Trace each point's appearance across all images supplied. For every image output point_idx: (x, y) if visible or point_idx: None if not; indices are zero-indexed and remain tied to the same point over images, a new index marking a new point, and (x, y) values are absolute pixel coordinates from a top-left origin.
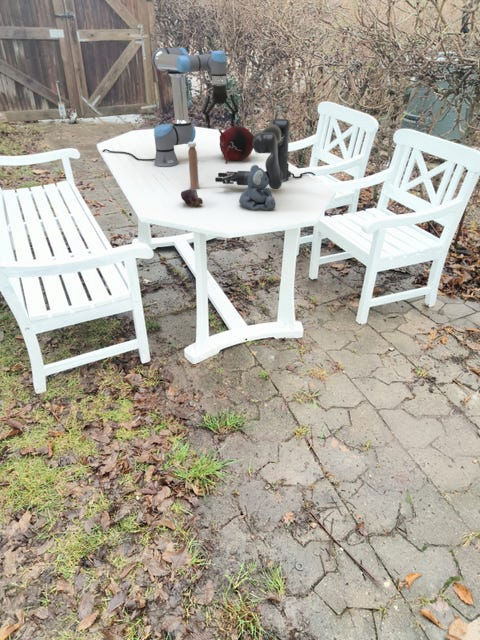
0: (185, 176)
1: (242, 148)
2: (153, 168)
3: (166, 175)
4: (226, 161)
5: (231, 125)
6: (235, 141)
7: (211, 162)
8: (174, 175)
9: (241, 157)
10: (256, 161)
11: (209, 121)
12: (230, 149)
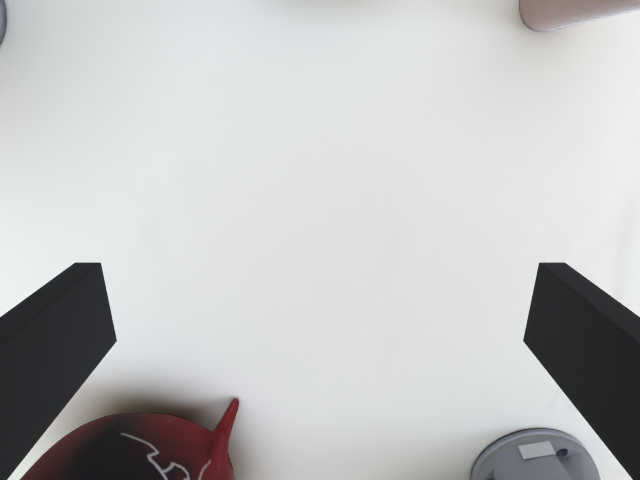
0: (515, 252)
1: (109, 443)
2: None
3: None
4: (232, 407)
5: (107, 323)
6: None
7: (307, 436)
8: None
9: (139, 413)
10: None
11: (627, 329)
12: (189, 459)
